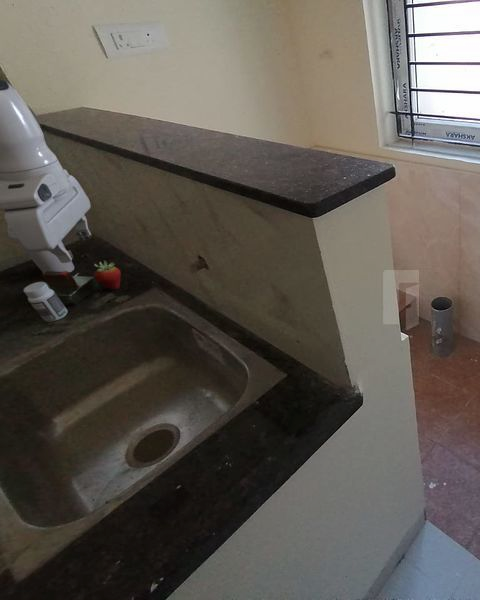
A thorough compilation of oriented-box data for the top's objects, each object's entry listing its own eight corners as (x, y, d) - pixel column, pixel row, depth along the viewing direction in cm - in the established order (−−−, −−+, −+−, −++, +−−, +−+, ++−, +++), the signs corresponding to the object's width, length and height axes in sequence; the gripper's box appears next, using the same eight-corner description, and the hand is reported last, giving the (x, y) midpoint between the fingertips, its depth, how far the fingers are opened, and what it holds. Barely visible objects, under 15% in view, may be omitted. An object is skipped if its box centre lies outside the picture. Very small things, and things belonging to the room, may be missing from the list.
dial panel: (34, 306, 93) (26, 296, 91) (66, 282, 101) (60, 272, 99) (73, 308, 92) (66, 297, 91) (103, 283, 101) (97, 273, 99)
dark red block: (49, 286, 95) (40, 273, 92) (54, 282, 96) (46, 270, 94) (72, 287, 94) (63, 274, 92) (77, 283, 95) (69, 270, 93)
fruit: (131, 287, 99) (117, 260, 94) (109, 297, 96) (93, 270, 91) (122, 281, 101) (107, 254, 97) (100, 290, 98) (84, 264, 93)
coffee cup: (85, 270, 106) (54, 220, 97) (43, 285, 101) (6, 233, 91) (76, 258, 111) (46, 209, 102) (35, 272, 106) (0, 222, 97)
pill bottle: (66, 307, 93) (45, 278, 88) (70, 316, 90) (49, 286, 85) (42, 316, 90) (19, 286, 85) (45, 325, 88) (22, 295, 82)
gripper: (42, 164, 76) (79, 228, 84) (-17, 205, 60) (36, 278, 68) (78, 161, 77) (111, 224, 85) (30, 200, 61) (76, 272, 70)
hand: (77, 248), depth 77 cm, fingers open, 8 cm apart
